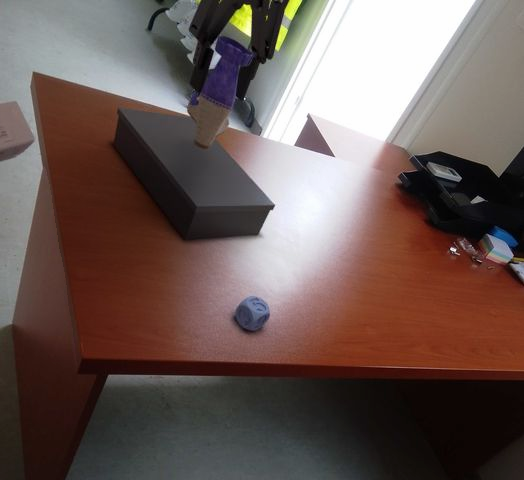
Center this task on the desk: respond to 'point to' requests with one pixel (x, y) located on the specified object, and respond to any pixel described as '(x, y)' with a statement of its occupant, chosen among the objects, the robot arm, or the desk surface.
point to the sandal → (218, 92)
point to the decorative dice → (252, 313)
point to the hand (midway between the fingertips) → (217, 92)
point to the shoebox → (190, 176)
